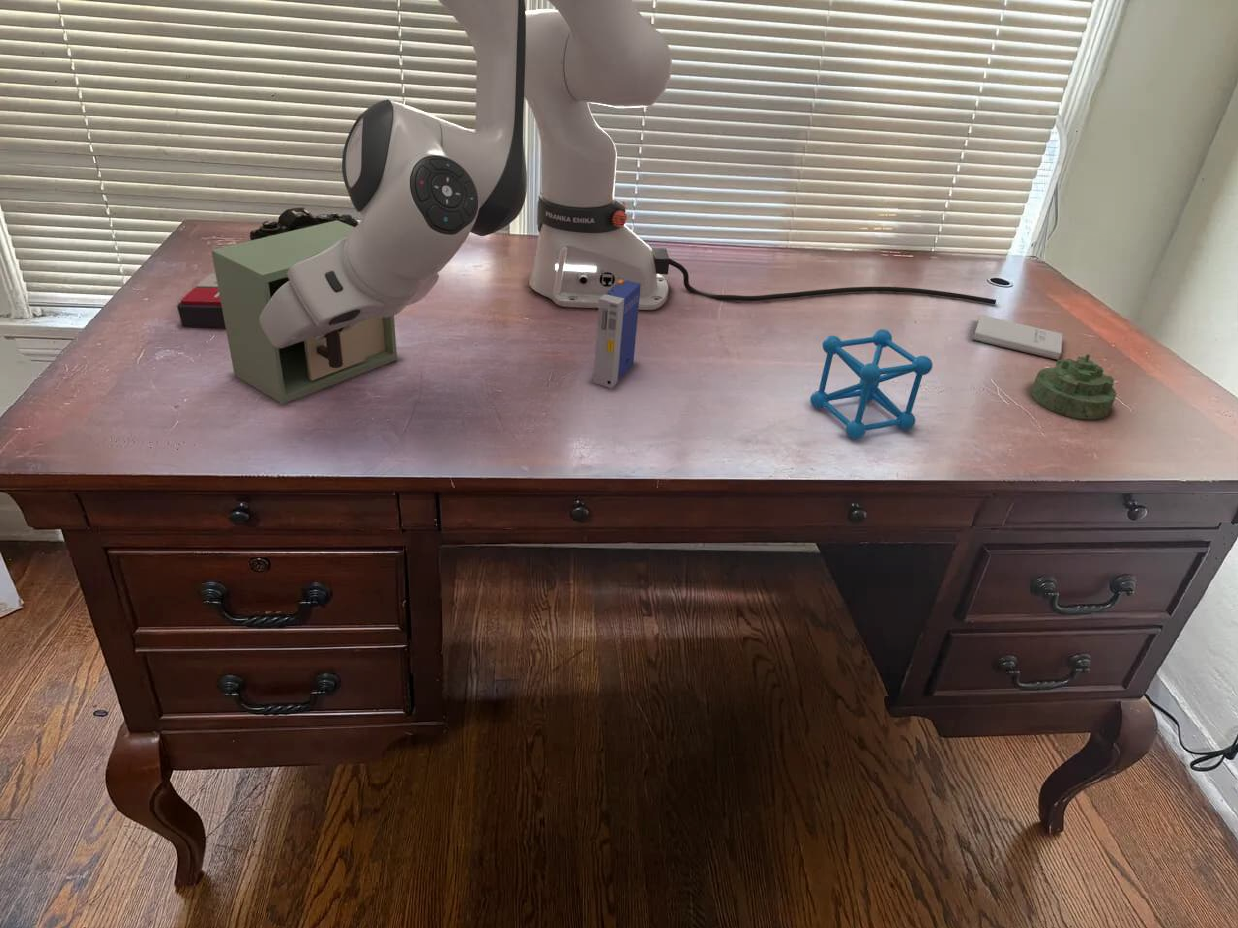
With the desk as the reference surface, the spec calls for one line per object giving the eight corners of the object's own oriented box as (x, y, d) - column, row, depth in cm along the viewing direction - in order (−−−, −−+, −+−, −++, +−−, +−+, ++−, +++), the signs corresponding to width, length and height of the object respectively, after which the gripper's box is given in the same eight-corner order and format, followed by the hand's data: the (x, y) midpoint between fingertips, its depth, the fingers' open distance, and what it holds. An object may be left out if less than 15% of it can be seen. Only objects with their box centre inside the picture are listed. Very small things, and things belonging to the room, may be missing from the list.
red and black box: (206, 270, 123) (312, 273, 124) (213, 299, 126) (317, 301, 126) (173, 301, 114) (288, 303, 114) (182, 330, 117) (293, 333, 117)
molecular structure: (851, 444, 104) (870, 370, 98) (805, 404, 111) (820, 333, 106) (916, 431, 108) (939, 359, 102) (867, 394, 115) (886, 325, 110)
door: (384, 370, 108) (376, 268, 100) (331, 392, 102) (318, 284, 95) (362, 359, 110) (352, 257, 102) (308, 379, 104) (294, 273, 97)
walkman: (614, 360, 118) (621, 276, 111) (633, 364, 117) (641, 280, 111) (591, 383, 112) (597, 296, 105) (611, 388, 111) (618, 301, 104)
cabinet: (397, 360, 113) (388, 241, 104) (282, 404, 101) (262, 275, 93) (349, 335, 118) (337, 220, 109) (234, 375, 106) (210, 249, 98)
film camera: (325, 246, 145) (318, 186, 140) (375, 265, 140) (370, 204, 134) (230, 272, 133) (218, 208, 127) (280, 295, 127) (270, 228, 122)
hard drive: (977, 322, 139) (1059, 341, 135) (972, 341, 133) (1058, 361, 129) (980, 313, 138) (1063, 332, 134) (975, 331, 132) (1062, 351, 128)
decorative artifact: (1089, 387, 122) (1020, 381, 122) (1109, 342, 119) (1037, 335, 118) (1121, 422, 114) (1046, 416, 114) (1143, 375, 110) (1066, 368, 110)
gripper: (437, 226, 97) (386, 283, 107) (275, 269, 83) (234, 330, 93) (465, 275, 97) (412, 327, 107) (309, 326, 83) (265, 381, 93)
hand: (328, 329), depth 100 cm, fingers closed on door, 2 cm apart
